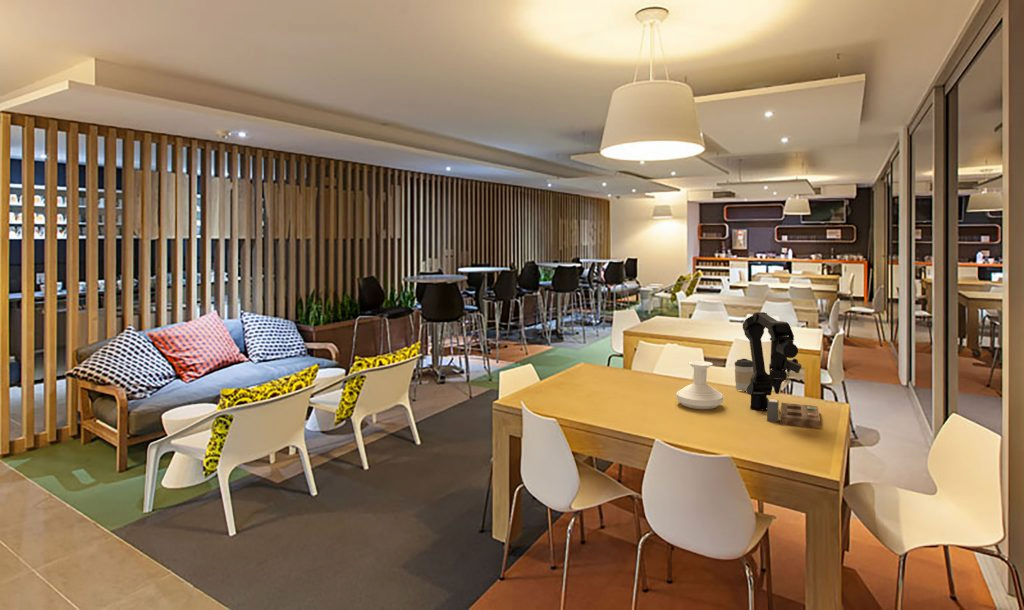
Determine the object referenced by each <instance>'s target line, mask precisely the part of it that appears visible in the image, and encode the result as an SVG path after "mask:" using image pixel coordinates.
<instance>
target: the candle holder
mask: <svg viewBox="0 0 1024 610" xmlns="http://www.w3.org/2000/svg"><path fill="white" fill-rule="evenodd" d="M687 364H689V365H690V366H691V367H692V368H693V382H692V383H691V384H687V385H686V386H684V387H683V388H681V389H679V390H678V391H676V401H678V402H679V403H680V404H681V405H683V406H684V407H686V408H690V409H696V410H711V409H715V408H717V407H718V406H719V405H720V406H721V404H723V403H724V394H722V393H721V392H720V391H719V390H717V389H715V388H714V387H712V386H711V385H709V384H707V378H708V377H707V374H708V373H707V369H708V368H709V367H711V366H713V365H714V364H713V363H712V362H709V361H707V360H706V361H704V360H692V361H691V360H690V361H688V363H687Z"/></svg>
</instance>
